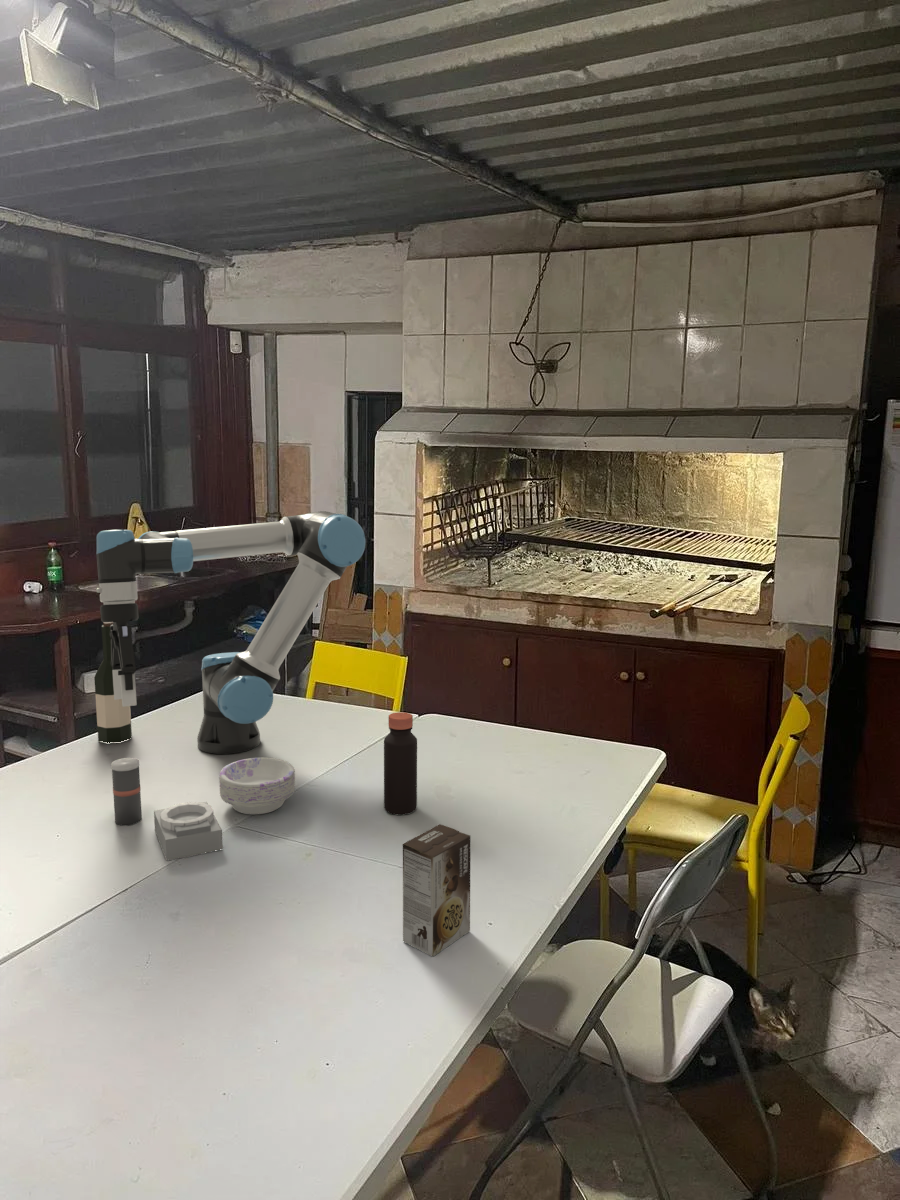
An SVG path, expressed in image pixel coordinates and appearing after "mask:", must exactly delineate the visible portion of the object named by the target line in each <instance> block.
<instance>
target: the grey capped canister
mask: <svg viewBox="0 0 900 1200" xmlns="http://www.w3.org/2000/svg"><path fill="white" fill-rule="evenodd" d="M110 766H111V767H110V769H111V774H112V775H111V776H112V778H111V779H112V795H113V808H114V810H113V811H114V823H115V824H116V825H119V826H131V825H135V824H139V822H141V821H142V819H143V817H142V798H141V797H142V795H141V789H142V788H141V779H140V759H138V758H135V757H123V758H118V759H115V760H113V761H112V762H111V763H110Z"/></svg>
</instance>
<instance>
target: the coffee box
mask: <svg viewBox="0 0 900 1200" xmlns="http://www.w3.org/2000/svg"><path fill="white" fill-rule="evenodd" d="M471 837H472V836H471V835H469V834H466V833H463V832H461V831H460V830H457V829H455V828H452V827H449V826H447V825H444V824H441V823H440V824H438V825H437V824H436V825H435V826H433V827H431V828H430V829H428V830H426V831H424V832H422V833H420V834H418V835H417V836H415V837H413V838H411V839H409V840H407V841H406V842H403V843H402V942H403V941H404V942H405V944H406V943H408V944H409V945H408V944H407V945H408V946H410V945H412V946H413V947H412V946H411V947H412V948H414V947H415V948H414V949H416V948H417V949H416V950H418V949H419V951H420V950H421V951H420V952H422V951H423V952H422V953H425V954H426V953H427V955H428V956H431V957H435V956H437V955H438V954H440V953H441V952H442V951H444V950H445V949H446V948H448V947H449V946H451V945H452V944H453V943H455V942H456V941H458V940H459V939H461V938H463V937H464V936H465V935H467V934H468V933H469V932H470V931H471ZM463 935H464V936H463ZM404 942H403V943H404Z"/></svg>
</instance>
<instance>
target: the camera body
mask: <svg viewBox="0 0 900 1200" xmlns="http://www.w3.org/2000/svg"><path fill="white" fill-rule="evenodd" d="M153 814H154V815H153V817H154V819H153V820H154V821H153V822H154V831H155V835H156V837H157V839H158V841H159V844H160V847H161V850H162V853H163V855H164V858H165V860H166V861H172V860H178V859H183V858H189V857H192V856H193V855H194V856H198V854H199V855H202V854H201V853H204V854H206V853H205V852H210V853H212V852H211V851H215V850H220V849H223V850H224V847H223V846H224V845H223V844H224V843H223V840H224V839H223V828H222V827H221V825H220V823H219V822H218V819H217V817H216V816H215V813H214V809H213V807H212V805H210V804H208V802H207V801H204V802H197V801H195V802H194V801H189V802H181V803H176V804H174V805H170V806H168V807H166V808H162V809H156V810H155V809H154V810H153ZM220 851H221V850H220ZM215 852H216V851H215Z"/></svg>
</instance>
